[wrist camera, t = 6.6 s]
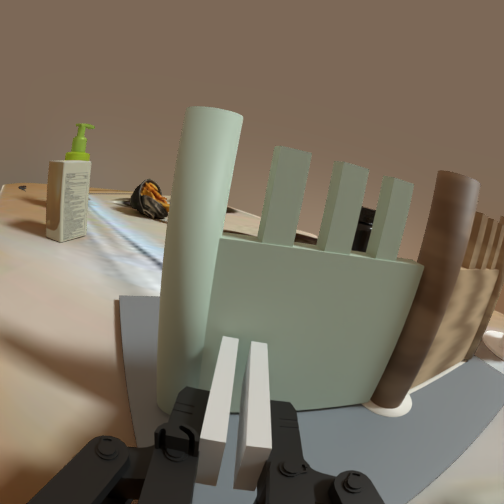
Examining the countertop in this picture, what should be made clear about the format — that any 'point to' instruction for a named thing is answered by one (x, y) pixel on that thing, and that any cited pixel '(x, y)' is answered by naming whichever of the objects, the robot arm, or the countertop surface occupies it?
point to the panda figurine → (495, 342)
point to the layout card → (335, 420)
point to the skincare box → (67, 199)
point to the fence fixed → (447, 290)
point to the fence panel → (278, 277)
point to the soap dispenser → (79, 145)
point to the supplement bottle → (363, 229)
